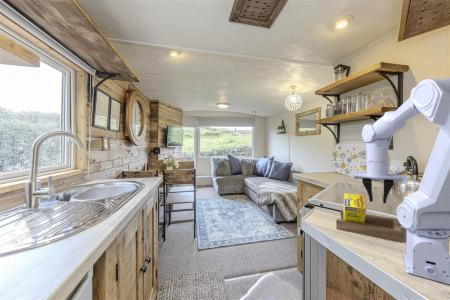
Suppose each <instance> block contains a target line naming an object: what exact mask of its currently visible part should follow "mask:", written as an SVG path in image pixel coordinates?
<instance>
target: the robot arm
mask: <svg viewBox="0 0 450 300" xmlns="http://www.w3.org/2000/svg"><path fill="white" fill-rule="evenodd" d="M420 113H421V114H422V115H423V116H424V117H425V118H427V120H429V122H431V123H433V124H437V125H438V127H439V131H438V135H437V137H436V139H435V143H434V145H433V148H432V151H431V152H430V153H431V154H430V157H429V159H428V162H427V165H426V167H425V170H424V173H423V175H422V178H421V180H420V184H419V187H418V189H417V190H416V191H414V192H413V193H411V194H408V195H406V196H405V197H404V198H403V201H402V202H401V203H400V204H398V206H397V208H396V210H395V211H396V212H395V213H396V219H398V221H399V223H400V226H402V228H404V229H405V230H406V231H405V234H406V235H405V240H406V241H405V242H406V244H405V246H406V247H405V248H406V251H403V252H402V253H403V259H404V267H405V271H406V274H411V275H414V276H417V277H421V278H426V279H428V280H432V281H436V282H440V283H443V284H447V285H450V77H446V78H428V79H423V80H421V81H420V82H419V83H418V84H417V85H416V86H414V87H412V89H411V90H410V97H409V98H407V100H406V101H404V102H403V103H402V104H401V105H400V106H399V107H398V108H397V109H396V110H389V111H386V112H384V115H382V116H381V117H380V118H379V119H377V120H376V121H375V122H374V123H372V124H371V123H370V124H365V125H364V126H363V128H362V131H361V138H362V140H363V141H364V142H365V154H366V155H365V157H366V172H351V173H350V177H351V178H350V179H351V180H361V183H362V185H363V187H364V188H365V190H366V192H367V195H368V197H369V198H368V199H369V202H370V203H373V200H374V196H373V186H372V185H373V181H381V182H383V195H382V197H383V198H382V202H383V204H386V203H387V199H388V196H389V193H390V191H391V190H392V188H393V187H394V184H395V182H400V183H401V182H402V183H408V175H407V174H406V175H405V174H395V173H389V147H390V146H391V142H392V139H393V135H394V134H395V133H397V132H399V131H400V130H402V129H404V128H405V127H406V125H407V123H408V120H410V119H412V118H413V117H416V115H419V114H420Z"/></svg>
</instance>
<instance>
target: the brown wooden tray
mask: <svg viewBox="0 0 450 300" xmlns="http://www.w3.org/2000/svg"><path fill="white" fill-rule="evenodd" d="M335 223H336V230H339V231H345V232H349V233H354V234H359V235H363V236H369V237H374V238H377V239H381V240H386V241H387V240H388V241H393V242H395V243H396V242H397V243H402V230H401V224H400V222H399V221H398V218H394V217H393V218H392V217H387V216H379V215H373V214H367V213H366V214H365V222H364V224H361V223H355V222H350V221H344V218H343V210H340V219H338V218H337V219H336V221H335Z"/></svg>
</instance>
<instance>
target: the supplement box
mask: <svg viewBox="0 0 450 300" xmlns="http://www.w3.org/2000/svg"><path fill="white" fill-rule="evenodd" d="M366 204H367V203H366V198H365V194H356V193H343V210H342V211H343V218H344V221H350V222H355V223H361V224H365V223H364V222H365V214H367V205H366Z"/></svg>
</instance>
